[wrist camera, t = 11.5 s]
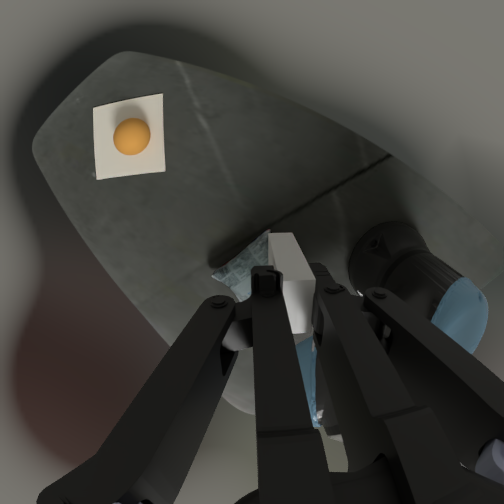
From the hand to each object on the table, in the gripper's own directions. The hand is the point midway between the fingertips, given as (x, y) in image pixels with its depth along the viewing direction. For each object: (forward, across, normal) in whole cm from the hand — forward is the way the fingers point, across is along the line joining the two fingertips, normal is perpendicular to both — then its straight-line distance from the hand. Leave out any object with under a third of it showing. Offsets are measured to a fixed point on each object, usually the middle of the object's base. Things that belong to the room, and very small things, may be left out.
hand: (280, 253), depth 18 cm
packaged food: (+25, +1, +12) cm, 28 cm away
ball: (+22, +18, -10) cm, 30 cm away
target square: (+24, +20, -10) cm, 33 cm away
